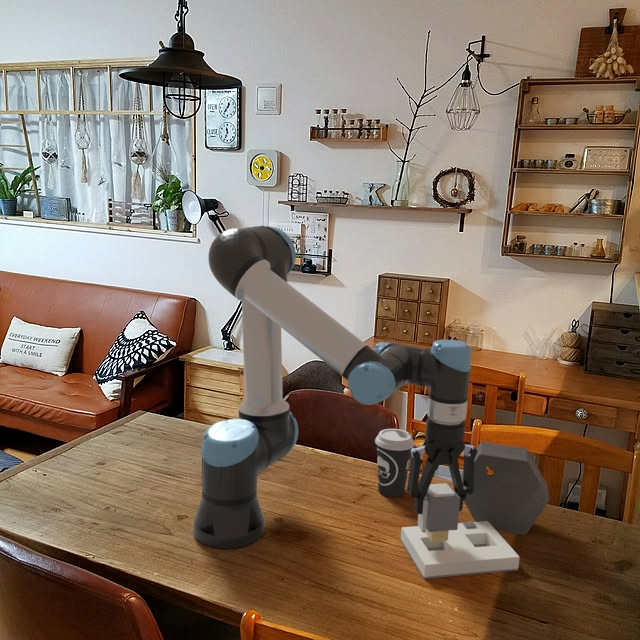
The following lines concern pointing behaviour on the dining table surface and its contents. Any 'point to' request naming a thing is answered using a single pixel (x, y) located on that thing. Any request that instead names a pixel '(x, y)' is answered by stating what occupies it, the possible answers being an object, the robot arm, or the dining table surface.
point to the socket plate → (460, 551)
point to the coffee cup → (393, 461)
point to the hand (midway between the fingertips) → (437, 525)
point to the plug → (441, 511)
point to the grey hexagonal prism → (506, 488)
